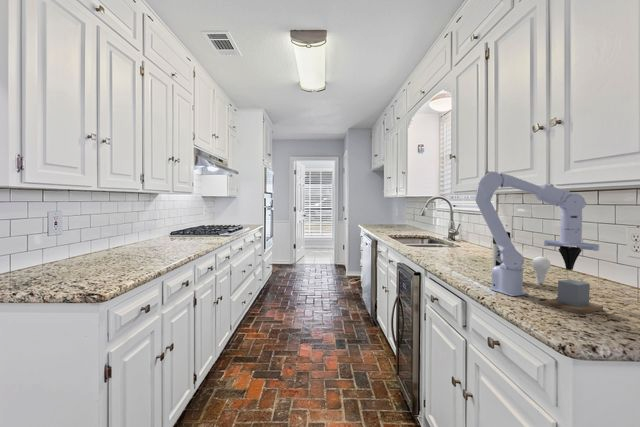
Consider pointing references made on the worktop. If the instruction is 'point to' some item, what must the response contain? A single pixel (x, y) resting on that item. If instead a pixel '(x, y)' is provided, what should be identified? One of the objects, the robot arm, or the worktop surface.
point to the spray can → (496, 254)
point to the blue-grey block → (573, 292)
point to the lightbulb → (541, 268)
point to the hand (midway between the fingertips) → (569, 269)
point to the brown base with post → (578, 310)
